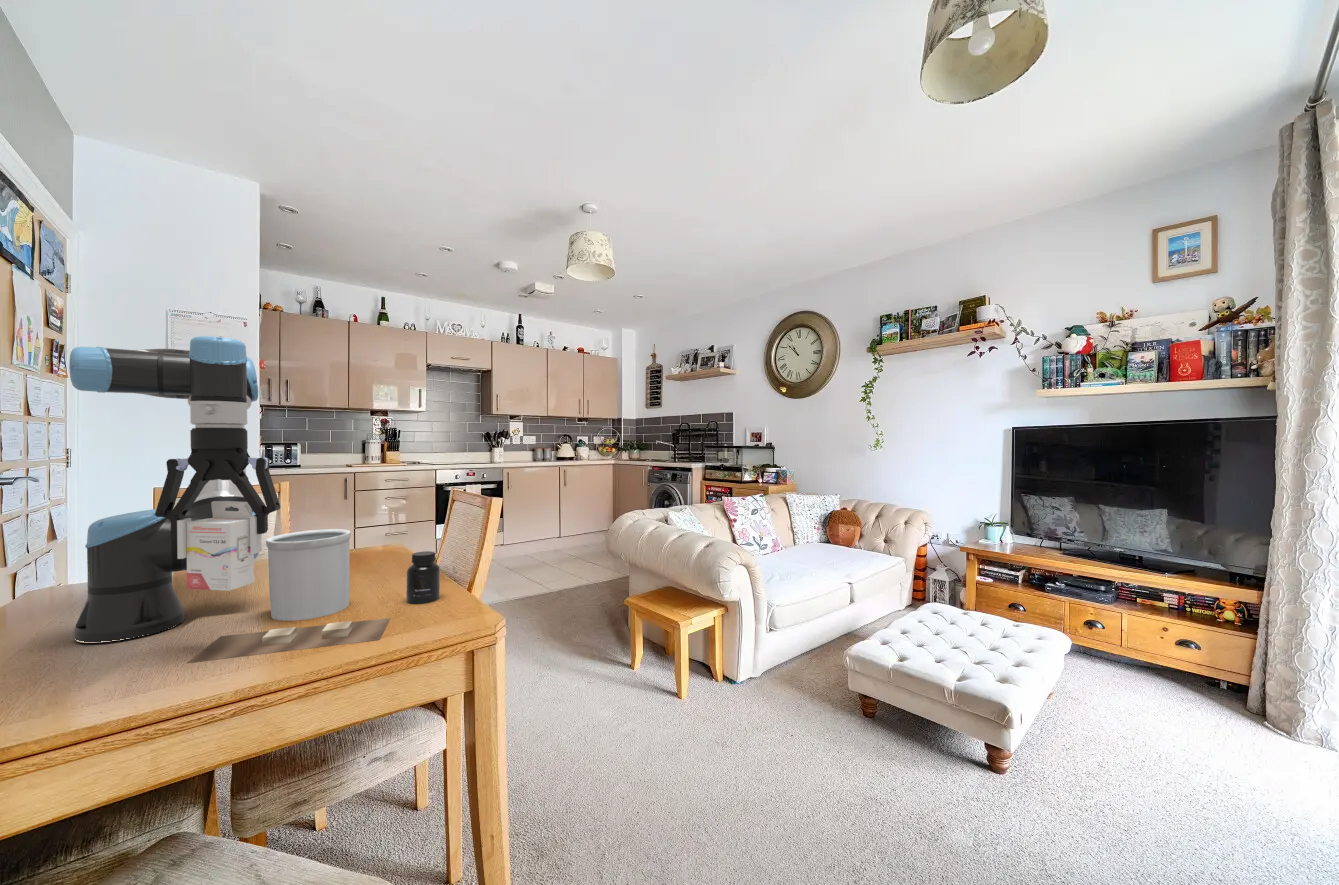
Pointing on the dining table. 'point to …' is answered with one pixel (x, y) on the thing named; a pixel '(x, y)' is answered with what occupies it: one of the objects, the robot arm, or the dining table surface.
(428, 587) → the supplement bottle
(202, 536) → the ink cartridge box
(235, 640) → the walnut board
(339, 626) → the block
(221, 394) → the robot arm
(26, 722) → the dining table surface
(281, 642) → the near offcut
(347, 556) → the utensil holder
